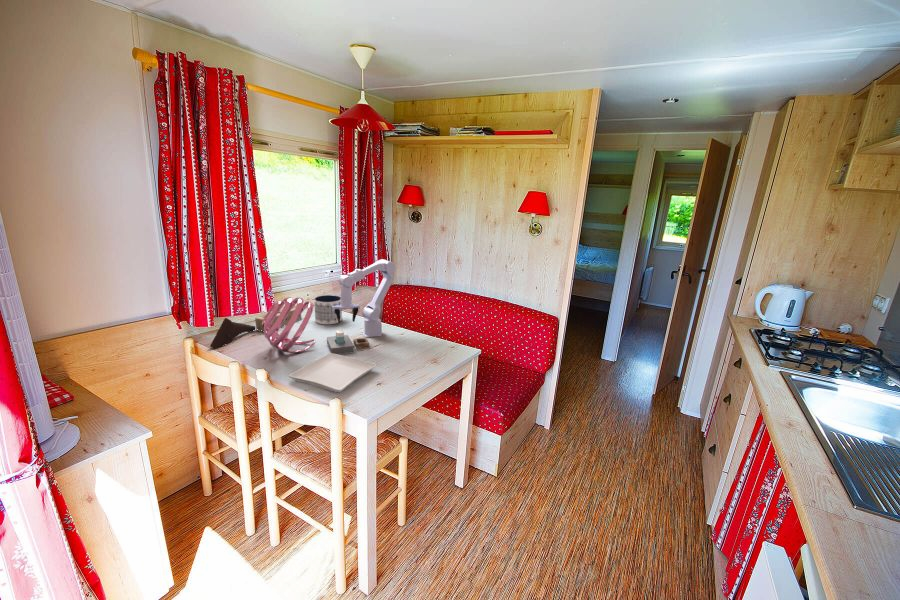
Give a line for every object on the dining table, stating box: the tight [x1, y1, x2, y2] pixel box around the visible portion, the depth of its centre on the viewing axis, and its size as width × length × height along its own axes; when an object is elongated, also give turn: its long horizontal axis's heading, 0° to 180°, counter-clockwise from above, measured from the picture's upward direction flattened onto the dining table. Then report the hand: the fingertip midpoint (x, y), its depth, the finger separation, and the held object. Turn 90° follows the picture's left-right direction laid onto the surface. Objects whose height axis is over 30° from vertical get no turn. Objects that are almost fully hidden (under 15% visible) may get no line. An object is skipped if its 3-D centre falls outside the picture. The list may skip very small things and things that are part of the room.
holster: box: [209, 317, 256, 349], centre depth 201 cm, size 5×16×25 cm
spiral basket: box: [262, 296, 316, 354], centre depth 191 cm, size 28×28×27 cm
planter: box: [313, 294, 343, 325], centre depth 236 cm, size 16×16×14 cm
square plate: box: [287, 352, 377, 393], centre depth 168 cm, size 27×27×4 cm
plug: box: [335, 329, 345, 344], centre depth 197 cm, size 4×4×8 cm
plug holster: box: [352, 337, 370, 349], centre depth 203 cm, size 7×8×2 cm
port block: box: [326, 334, 355, 355], centre depth 198 cm, size 11×16×4 cm
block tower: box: [254, 304, 302, 332], centre depth 227 cm, size 8×8×29 cm
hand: (346, 321), depth 207 cm, fingers open, 7 cm apart
